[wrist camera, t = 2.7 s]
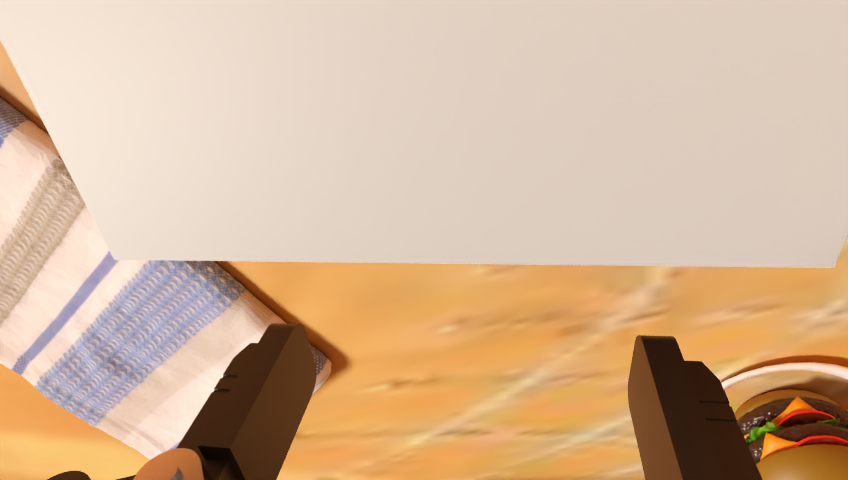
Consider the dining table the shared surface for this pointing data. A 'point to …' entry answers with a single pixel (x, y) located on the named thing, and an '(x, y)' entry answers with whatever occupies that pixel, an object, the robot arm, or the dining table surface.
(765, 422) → the hamburger
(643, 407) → the robot arm
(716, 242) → the brick
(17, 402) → the dining table surface
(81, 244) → the dish towel
